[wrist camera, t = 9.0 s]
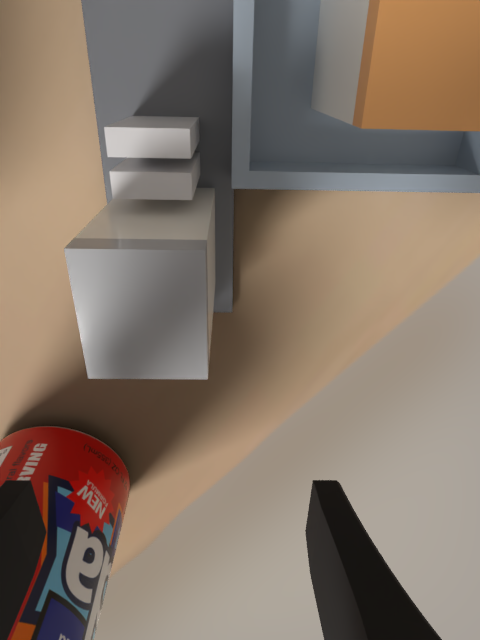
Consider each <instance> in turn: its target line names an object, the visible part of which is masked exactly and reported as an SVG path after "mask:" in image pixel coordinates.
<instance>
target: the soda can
mask: <svg viewBox="0 0 480 640" xmlns="http://www.w3.org/2000/svg"><path fill="white" fill-rule="evenodd" d="M7 480H31V483H32V486H33V489H34V492H35V496H36V499H37V502H38V505H39V509H40V512H41V515H42V518H43V522H44V525H45V528H46V531H47V533H46V536H45V540H44V543H43V547H42V550H41V554H40V557H39V561H38V564H37V567H36V570H35V574H34V576H33V579H32V581H31V584H30V586H29V589H28V591H27V594H26V596H25V599H24V601H23V603H22V606H21V608H20V611H19V613H18V615H17V618H16V620H15V623H14V625H13V627H12V630H11V632H10V634H9V637H8V639H7V640H94V637H95V633H96V629H97V625H98V621H99V617H100V613H101V609H102V604H103V600H104V596H105V592H106V588H107V584H108V580H109V576H110V572H111V568H112V563H113V559H114V555H115V551H116V547H117V543H118V539H119V535H120V531H121V527H122V522H123V518H124V514H125V510H126V506H127V502H128V497H129V491H130V478H129V474H128V471H127V469H126V466H125V465H124V463H123V461H122V460H121V458H120V457H119V456H118V455H117V454H116V452H115V451H113V450H112V449H111V448H110V447H109V446H108V445H106V444H105V443H103V442H102V441H100V440H98V439H97V438H95V437H93V436H91V435H88V434H86V433H83V432H80V431H77V430H74V429H69V428H64V427H56V426H38V427H31V428H26V429H23V430H20V431H17V432H14V433H12V434H10V435H8V436H6V437H5V438H3V439H2V440H1V441H0V486H1V485H2V484H3V483H4V482H5V481H7Z"/></svg>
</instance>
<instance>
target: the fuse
mask: <svg viewBox="0 0 480 640" xmlns="http://www.w3.org/2000/svg"><path fill="white" fill-rule="evenodd" d="M64 251H65V256H66V262H67V267H68V273H69V278H70V283H71V289H72V294H73V300H74V305H75V310H76V316H77V321H78V327H79V332H80V337H81V343H82V348H83V354H84V359H85V364H86V370H87V375H88V379H208V372H209V359H210V346H211V333H212V320H213V307H214V295H215V188H196V190H195V193H194V196H193V199H192V200H148V199H112V200H111V201H110V202H109V203H108V204H107V205H106V206H105V207H104V208H103V209H102V210H101V211H100V212H99V213H98V214H97V215H96V216H95V217H94V218H93V219H92V220H91V221H90V222H89V223H88V224H87V225H86V227H85V228H84V229H83V230H82V231H81V232H80V233H79V234H78V235H77V236H76V237H75V238H74V239H73V240H72V241H71V242H70V243H69V244H68V245H67V246H66V247H65V248H64Z"/></svg>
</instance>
